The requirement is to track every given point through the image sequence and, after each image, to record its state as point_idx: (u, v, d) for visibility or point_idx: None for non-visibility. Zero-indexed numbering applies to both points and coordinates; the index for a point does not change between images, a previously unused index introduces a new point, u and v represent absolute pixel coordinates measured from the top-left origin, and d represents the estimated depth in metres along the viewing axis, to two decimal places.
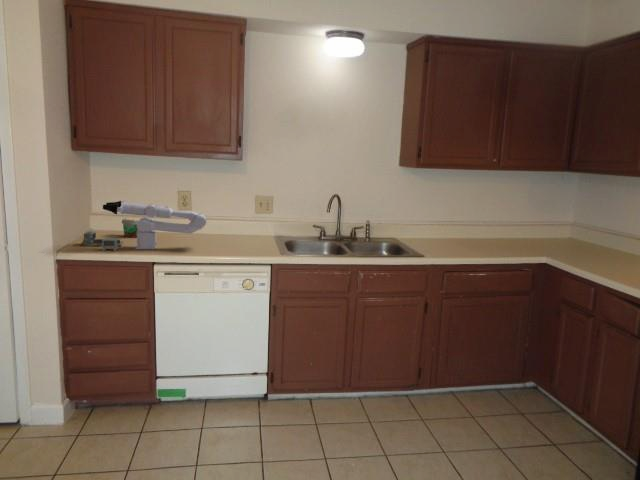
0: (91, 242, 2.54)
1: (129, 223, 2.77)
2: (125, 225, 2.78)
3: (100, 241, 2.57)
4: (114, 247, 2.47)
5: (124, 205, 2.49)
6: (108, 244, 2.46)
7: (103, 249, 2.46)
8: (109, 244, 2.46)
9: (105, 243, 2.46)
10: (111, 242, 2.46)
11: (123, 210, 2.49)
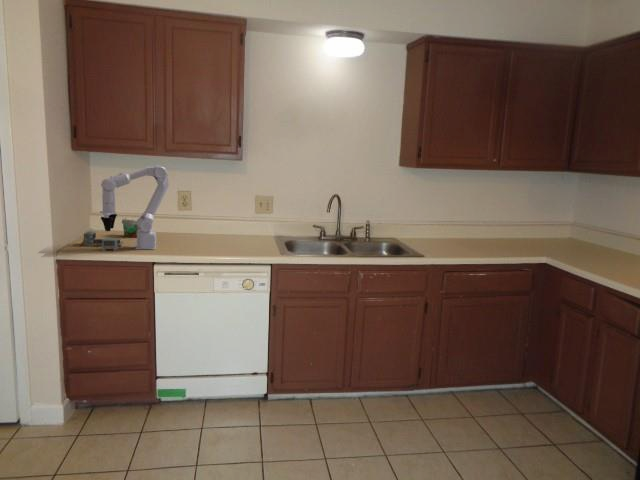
0: (91, 242, 2.54)
1: (129, 223, 2.77)
2: (125, 225, 2.78)
3: (100, 241, 2.57)
4: (114, 247, 2.47)
5: (104, 211, 2.42)
6: (108, 244, 2.46)
7: (103, 249, 2.46)
8: (109, 244, 2.46)
9: (105, 243, 2.46)
10: (111, 242, 2.46)
11: (109, 211, 2.42)
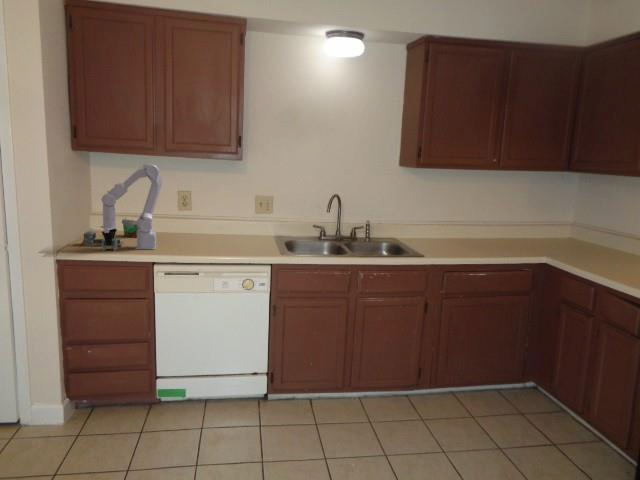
0: (91, 242, 2.54)
1: (129, 223, 2.77)
2: (125, 225, 2.78)
3: (100, 241, 2.57)
4: (114, 247, 2.47)
5: (104, 225, 2.44)
6: None
7: (103, 249, 2.46)
8: None
9: (105, 243, 2.46)
10: None
11: (110, 226, 2.44)
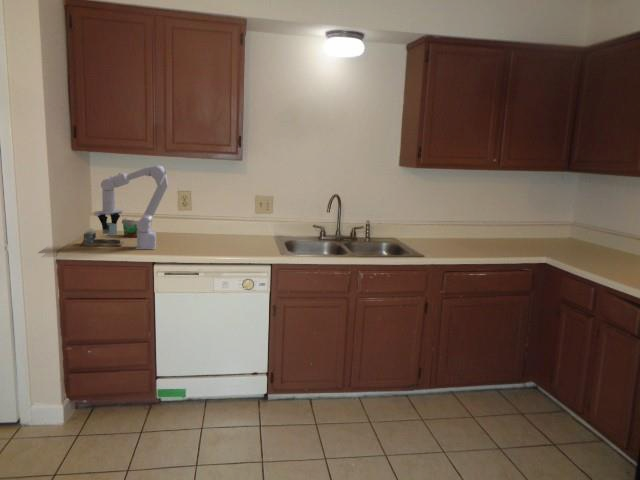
0: (91, 242, 2.54)
1: (129, 223, 2.77)
2: (125, 225, 2.78)
3: (100, 241, 2.57)
4: (108, 232, 2.49)
5: None
6: None
7: (103, 232, 2.52)
8: None
9: None
10: None
11: (104, 210, 2.47)
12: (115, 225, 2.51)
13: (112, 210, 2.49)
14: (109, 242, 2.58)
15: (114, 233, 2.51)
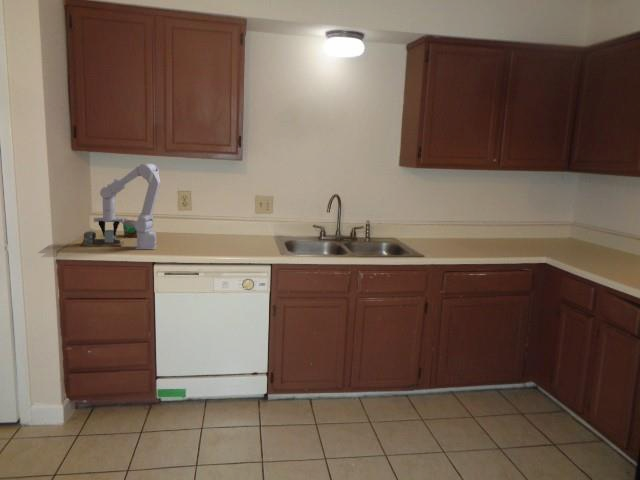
0: (91, 242, 2.54)
1: (129, 223, 2.77)
2: (125, 225, 2.78)
3: (100, 241, 2.57)
4: None
5: None
6: None
7: None
8: None
9: None
10: None
11: (103, 217, 2.55)
12: (111, 233, 2.55)
13: (108, 218, 2.53)
14: (109, 242, 2.58)
15: (110, 240, 2.56)
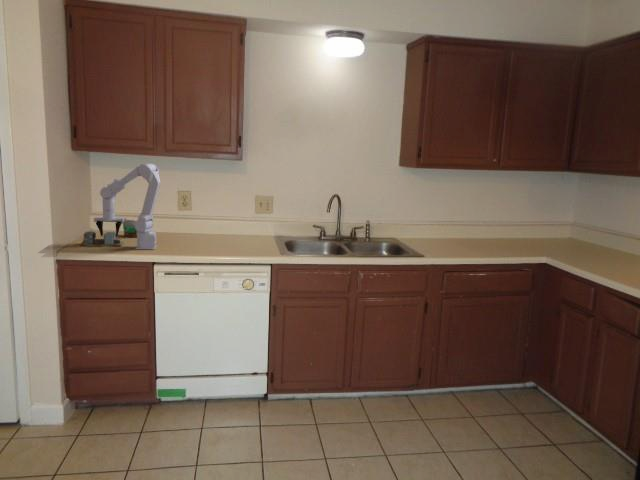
0: (91, 242, 2.54)
1: (129, 223, 2.77)
2: (125, 225, 2.78)
3: (100, 241, 2.57)
4: None
5: None
6: None
7: None
8: None
9: None
10: None
11: (103, 217, 2.55)
12: (111, 235, 2.55)
13: (108, 218, 2.53)
14: None
15: (110, 243, 2.56)
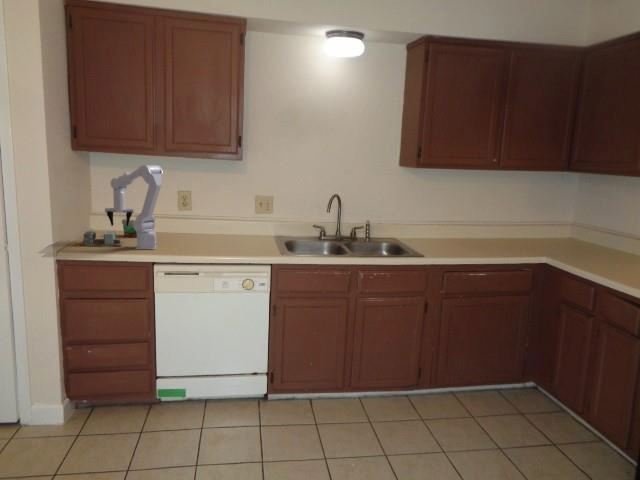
0: (91, 242, 2.54)
1: (129, 223, 2.77)
2: (125, 225, 2.78)
3: (100, 241, 2.57)
4: None
5: None
6: None
7: None
8: None
9: None
10: None
11: (113, 208, 2.61)
12: (111, 235, 2.55)
13: (119, 208, 2.59)
14: None
15: (110, 243, 2.56)
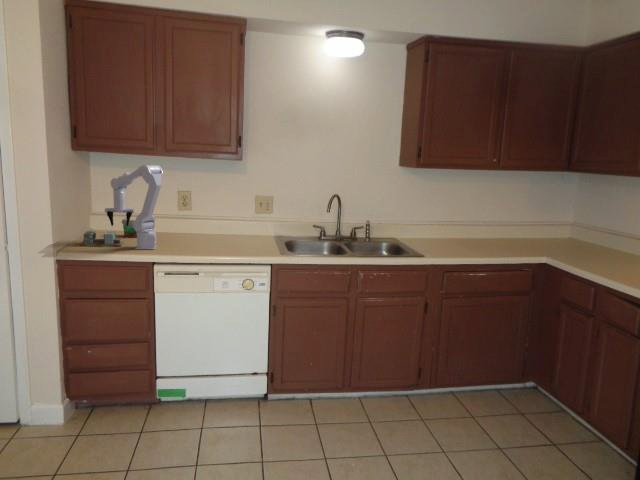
0: (91, 242, 2.54)
1: (129, 223, 2.77)
2: (125, 225, 2.78)
3: (100, 241, 2.57)
4: None
5: None
6: None
7: None
8: None
9: None
10: None
11: (113, 208, 2.61)
12: (111, 235, 2.55)
13: (119, 208, 2.59)
14: None
15: (110, 243, 2.56)
